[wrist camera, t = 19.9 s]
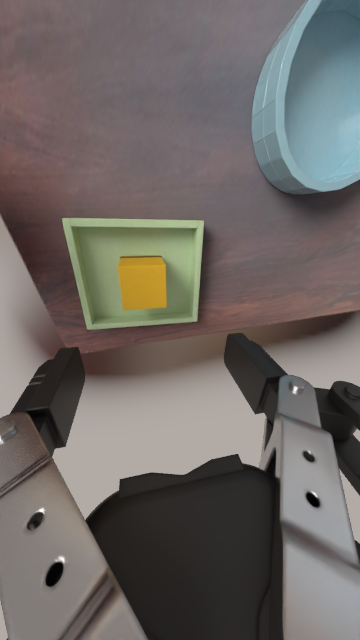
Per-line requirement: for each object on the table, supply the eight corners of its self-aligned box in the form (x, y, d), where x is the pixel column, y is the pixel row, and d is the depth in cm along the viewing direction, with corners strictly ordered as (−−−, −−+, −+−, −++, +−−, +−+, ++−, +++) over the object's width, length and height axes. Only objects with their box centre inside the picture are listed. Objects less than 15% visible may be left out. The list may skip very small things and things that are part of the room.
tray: (90, 321, 29) (87, 330, 27) (68, 217, 23) (61, 218, 21) (193, 314, 32) (197, 321, 30) (198, 220, 25) (204, 220, 23)
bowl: (240, 192, 25) (259, 188, 21) (270, -21, 17) (308, -89, 14) (344, 197, 28) (378, 194, 24) (408, 15, 20) (472, -32, 16)
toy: (125, 293, 28) (122, 311, 22) (120, 255, 25) (116, 265, 20) (161, 291, 28) (167, 308, 23) (160, 254, 26) (166, 264, 21)
